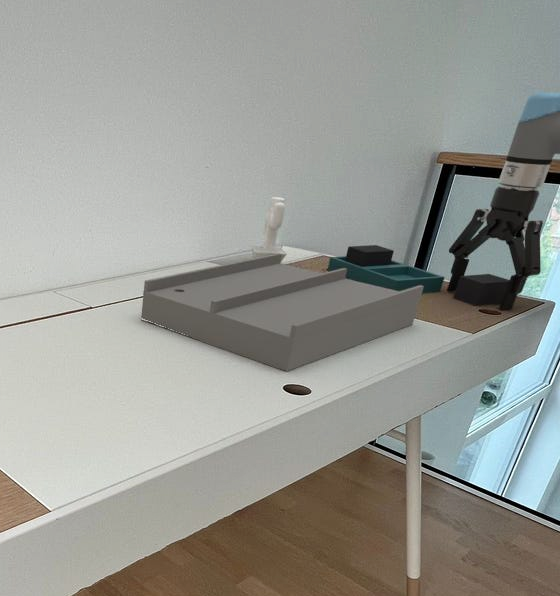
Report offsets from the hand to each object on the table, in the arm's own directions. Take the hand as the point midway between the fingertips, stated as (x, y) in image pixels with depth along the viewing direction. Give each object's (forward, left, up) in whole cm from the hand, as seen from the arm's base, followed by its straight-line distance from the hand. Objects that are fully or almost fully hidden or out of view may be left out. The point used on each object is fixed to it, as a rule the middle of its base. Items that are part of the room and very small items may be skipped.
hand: (477, 299), depth 141 cm
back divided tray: (+19, +9, 0) cm, 21 cm away
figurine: (+37, +28, 0) cm, 46 cm away
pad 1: (+24, +9, +1) cm, 26 cm away
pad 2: (0, 0, 0) cm, 0 cm away
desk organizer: (-2, +51, 0) cm, 51 cm away
